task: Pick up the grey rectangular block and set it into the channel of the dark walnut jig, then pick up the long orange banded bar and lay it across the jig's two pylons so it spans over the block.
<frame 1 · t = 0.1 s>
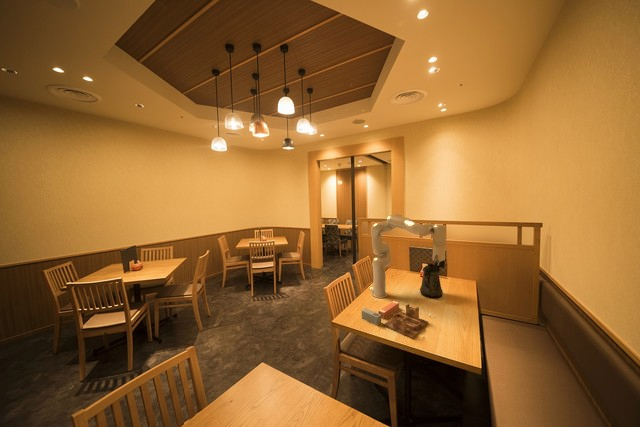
hand: (439, 269, 145), 31 cm above the table, fingers open, 9 cm apart
orange banded bar: (389, 313, 151), on the table
black backpack: (431, 295, 177), on the table
grey rectangular block: (371, 320, 142), on the table
jig: (406, 324, 136), on the table
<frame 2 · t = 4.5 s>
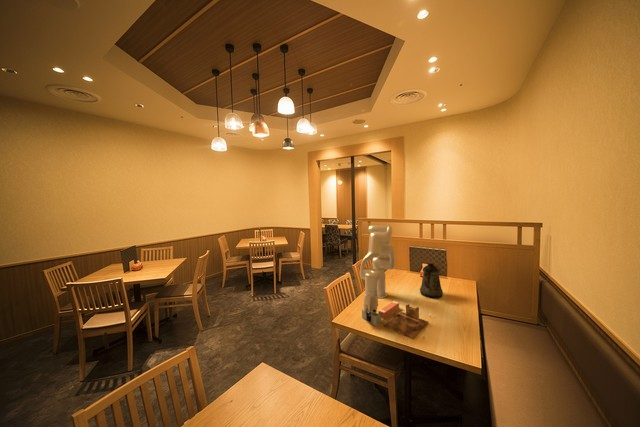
hand: (371, 319, 142), 1 cm above the table, fingers closed on grey rectangular block, 5 cm apart
grey rectangular block: (371, 320, 142), on the table, touching gripper
everything else where it was.
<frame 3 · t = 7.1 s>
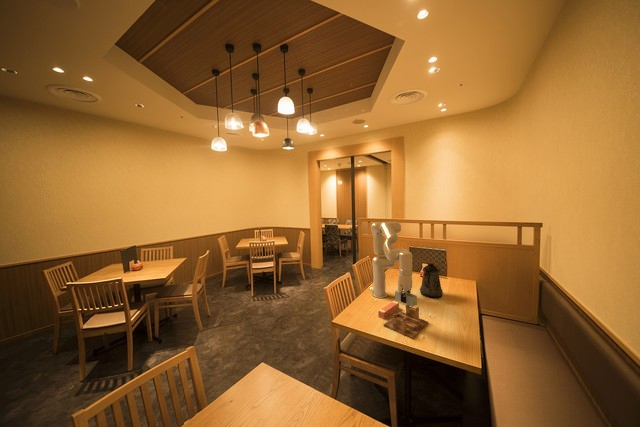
hand: (405, 300, 136), 15 cm above the table, fingers closed on grey rectangular block, 5 cm apart
grey rectangular block: (405, 302, 136), point 14 cm above the table, touching gripper
everything else where it was.
when the fingers open (4 cm above the table, at t = 9.6 s): grey rectangular block drops 2 cm, resting on jig.
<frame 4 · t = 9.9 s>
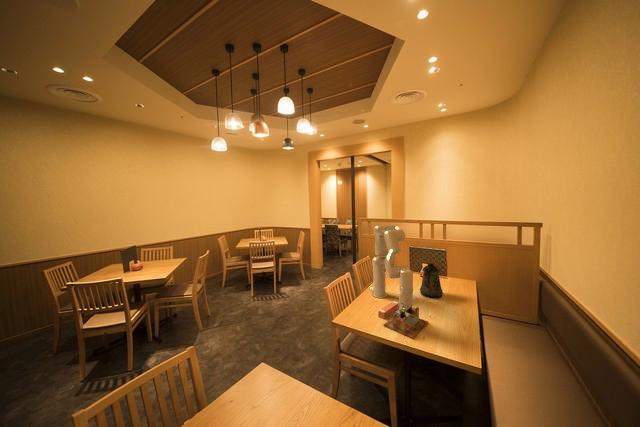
hand: (406, 317, 136), 5 cm above the table, fingers open, 7 cm apart
grey rectangular block: (406, 322, 136), point 1 cm above the table, touching jig
everything else where it was.
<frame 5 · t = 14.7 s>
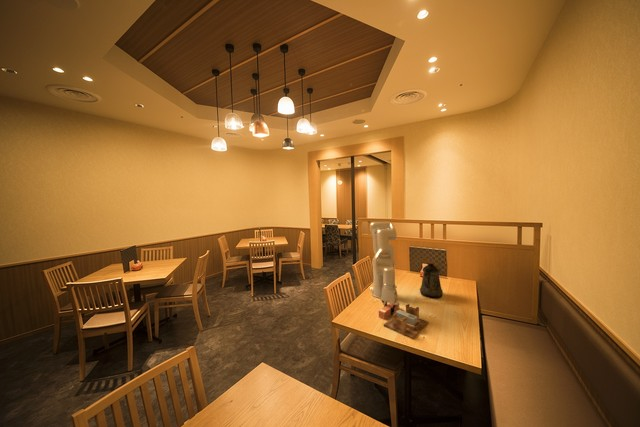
hand: (389, 311, 151), 1 cm above the table, fingers closed on orange banded bar, 4 cm apart
orange banded bar: (389, 312, 151), on the table, touching gripper
everything else where it was.
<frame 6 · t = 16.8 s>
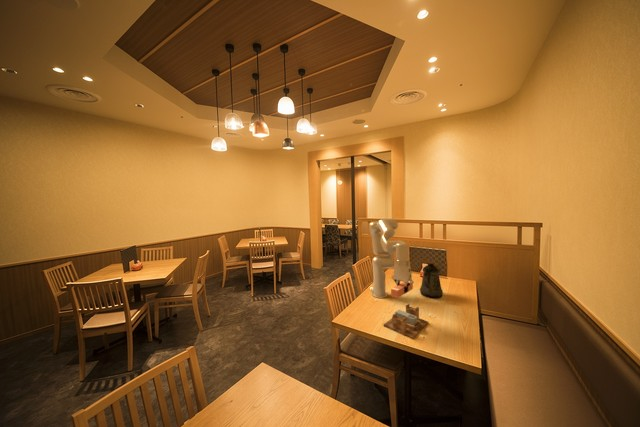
hand: (402, 291, 138), 20 cm above the table, fingers closed on orange banded bar, 4 cm apart
orange banded bar: (402, 292, 138), point 19 cm above the table, touching gripper
everything else where it was.
when the fingers open (9 cm above the table, at t = 19.2 s): orange banded bar drops 1 cm, resting on jig.
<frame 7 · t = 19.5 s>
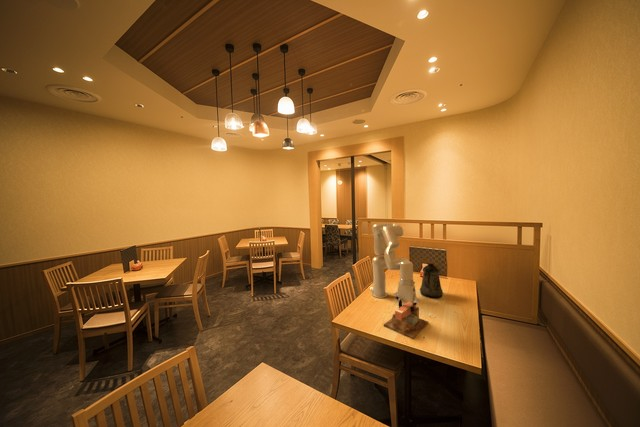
hand: (406, 309, 136), 10 cm above the table, fingers open, 6 cm apart
orange banded bar: (406, 313, 136), point 7 cm above the table, touching jig
everything else where it was.
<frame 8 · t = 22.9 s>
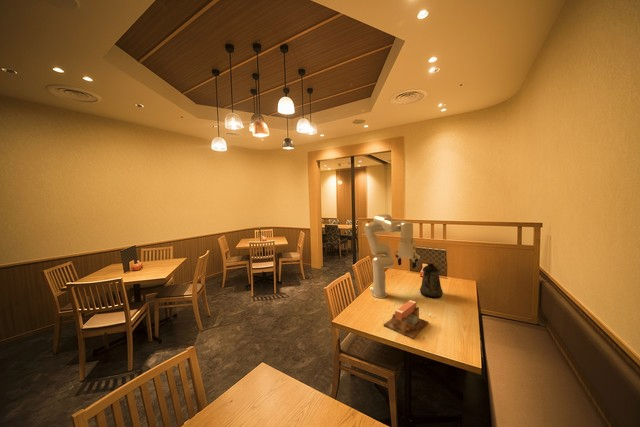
hand: (406, 266, 145), 33 cm above the table, fingers open, 9 cm apart
nothing on the table moved.
at the end: grey rectangular block 0.1 cm off-centre on the jig, point 1.2 cm above the jig's base; orange banded bar inside the target area on the jig (0.1 cm from its centre), point 7.2 cm above the jig's base; orange banded bar tilted 0° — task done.
